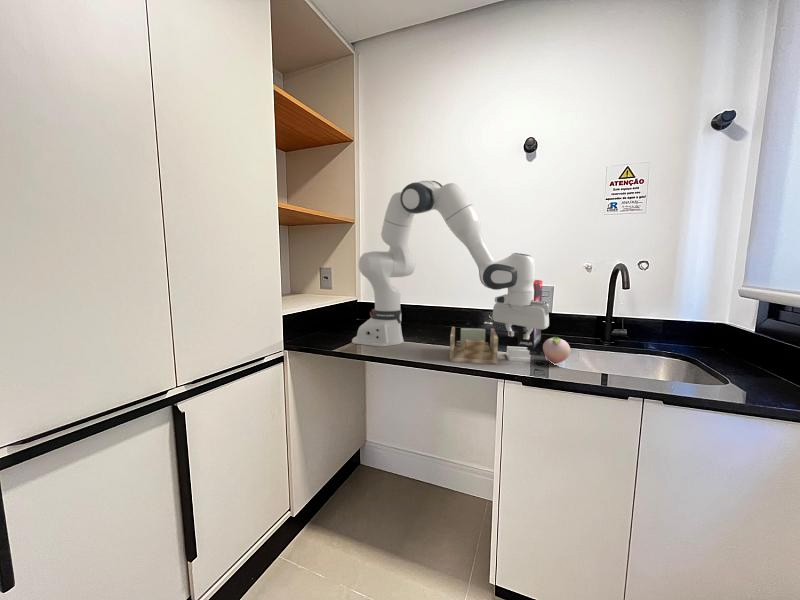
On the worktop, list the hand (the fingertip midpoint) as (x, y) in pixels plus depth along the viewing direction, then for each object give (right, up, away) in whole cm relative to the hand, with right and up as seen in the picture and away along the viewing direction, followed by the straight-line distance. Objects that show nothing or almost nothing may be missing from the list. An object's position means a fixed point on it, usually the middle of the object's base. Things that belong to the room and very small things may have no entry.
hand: (518, 337), depth 119 cm
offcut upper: (-17, -4, -3) cm, 17 cm away
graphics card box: (+12, -6, +22) cm, 26 cm away
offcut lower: (-17, -7, -3) cm, 18 cm away
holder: (0, -8, +1) cm, 8 cm away
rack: (-16, -7, +3) cm, 18 cm away
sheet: (-15, -6, +8) cm, 18 cm away
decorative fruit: (+11, -9, -5) cm, 15 cm away
